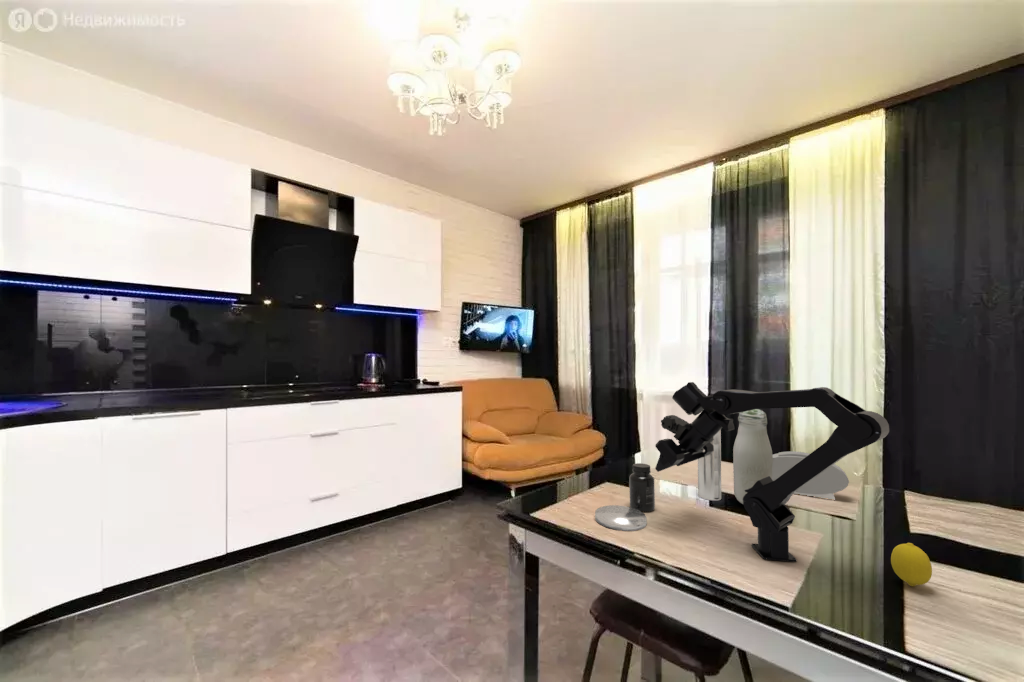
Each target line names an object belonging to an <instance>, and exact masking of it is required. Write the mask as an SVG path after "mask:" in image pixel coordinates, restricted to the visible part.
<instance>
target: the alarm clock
mask: <svg viewBox="0 0 1024 682" xmlns="http://www.w3.org/2000/svg"><path fill="white" fill-rule="evenodd" d="M809 454H810V453H809V452H804V451H803V452H802V451H793V450H792V451H789V450H788V451H781V452H780V451H779V452H778V453H774V454H773V453H772V456H773V464H772V480H773V481H775V480H776V479H777V478H779V477H780V476H781V475H783V474H784V473H785V472H787V471H788V470H789V469H791V468H792V467H793V466H795V465H796V464H797V463H799V462H800V461H801V460H803V459H804V458H805V457H807V456H808V455H809ZM849 483H850V481H849V477H848V475H847V474H846V472H845V471H844V470H843V469H842V467H841V466H840V465H836V463H835V464H833V465H832V466H831V467H829V468H828V469H826V470H825V471H823V472H822V473H821V474H819V475H818V476H816V477H815V478H814V479H812V480H811V481H809V482H808V483H807V484H805V485H804V486H802V487H801V488H799V489H798V490H797V491H795V492H794V493H793V495H796V494H800V495H799V496H802V495H807V496H806V497H808V496H815V497H821V498H828V499H834V500H835V501H836V497H835V493H838V492H841V491H844V490H845V489H846V488H847V487H848V486H849ZM815 497H814V498H815ZM821 498H820V499H821Z"/></svg>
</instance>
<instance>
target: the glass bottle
mask: <svg viewBox="0 0 1024 682" xmlns="http://www.w3.org/2000/svg"><path fill="white" fill-rule="evenodd" d="M737 421H738V429H737V434H736V437H735V440H734V444H733V447H732V448H733V449H732V451H733V453H732V457H733V458H732V459H733V461H732V465H733V472H732V473H733V494H734V496H735V498H736V500H737V501H738V502H739V503H740V504H742V505H743V497H744V495H745V494H747V492H745V490H746V489H749V488H751V487H753V485H754V484H755V483H756V482H757V481H758V480H760V479H763V478H765V477H768V476H770V477H771V479H772V464H773V456H772V455H773V450H772V446H771V442H770V439H769V435H768V429H767V425H768V418H767V413H766V412H765V411H763V410H762V409H754V410H750V411H745V412H740V413H738V417H737Z"/></svg>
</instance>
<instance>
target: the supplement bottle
mask: <svg viewBox="0 0 1024 682" xmlns="http://www.w3.org/2000/svg"><path fill="white" fill-rule="evenodd" d="M651 472H652V471H651V466H650V464H647V463H642V462H641V463H639V462H637V463H633V464H632V473H631V474H630V475H629V478H628V479H629V481H628V482H629V485H628V486H629V487H628V488H629V490H628V491H629V507H631V508H634V509H637V510H639V511H644V512H643V513H650V512H653V511H655V508H656V496H655V495H656V493H655V490H656V489H655V477H654V476H653V475H652V474H651ZM645 511H646V512H645ZM647 511H648V512H647ZM649 511H650V512H649Z"/></svg>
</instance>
